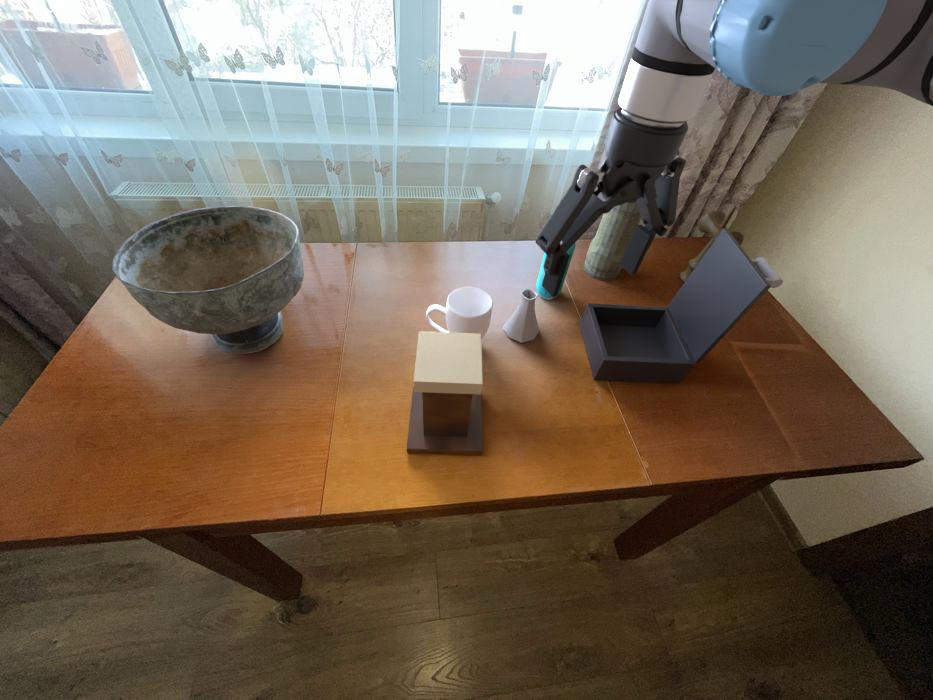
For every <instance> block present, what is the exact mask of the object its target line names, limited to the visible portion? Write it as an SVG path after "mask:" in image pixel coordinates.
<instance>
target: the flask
mask: <svg viewBox="0 0 933 700" xmlns="http://www.w3.org/2000/svg"><path fill="white" fill-rule="evenodd" d="M519 295H520V301H519V303H518V305H517V307H516V308H515V310H514V312H513V313H512V314H511V315H510V317H509V318H508V320H506V322H505V324H503V326H502V329H503V330H504V332H505V334H506V336H507V337H508V338H510V339H512V340H514V341H516V342H518V343H521V344H522V343H526V342H530V341H534V340H535V338H536V337H537V335H538V334H539V332H540V328H539V324H538V320H537V313H536V309H535V308H536V300H537V299H538V297H539V295H538V293H537V290H536V289H532V288H530V287H529V288H524V289H523V290H521V292H520V294H519Z"/></svg>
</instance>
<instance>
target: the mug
mask: <svg viewBox="0 0 933 700" xmlns="http://www.w3.org/2000/svg"><path fill="white" fill-rule="evenodd" d="M493 304H494V303H493V299H492V297H491V296H490V294H489V293H488V292H487V291H486V290H483V289H482V288H479V287H476V286H461V287H458V288H455V289H454V290H452V291H451V292H450V293H449V294H448V295H447V298H446V306H442V305H440V304H437V303H435V304H431V305H430V306H429V307H428V308H427V310H426V312H425V313H426V314H425V319H426V322H427V324H428V326H429V327H431V328H432V329H433V330H434V331H435V332H450V333H472V334H481V340H482V339H484V337H485V336H486V334H487V332H488V330H489V327H490V324H491V320H492V313H493ZM434 311H436V312H439V313H441V314H442V315H444V318H445V324H446V328H447V329H445V328H443V327H442V326H440V325H438V324H437V323H435V322H434V321H433V320H432V319H431V317H430V314H431V313H432V312H434Z"/></svg>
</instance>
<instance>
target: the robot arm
mask: <svg viewBox="0 0 933 700" xmlns="http://www.w3.org/2000/svg"><path fill="white" fill-rule="evenodd" d="M715 71H718V72H720V73H721V74H722V77H723V78H725V79H726V80H730V82H731V83H732V84H733V85H734V86H736V87H739V88H742V89H749V90H751V91H753V92H755V93H759V94H760V95H764V96H770V97H783V96H790V95H793V94H794V93H797V92H799V91H803V90H804V89H806V88H809V87H811V86H815V85H817V84H828V85H829V84H830V85H842V86H845V85H847V86H848V85H852V86H861V87H862V86H863V87H875V88H884V89H888V90H892V91H896V92H899V93H901V94H903V95H905V96H908V97H910V98H912V99H915V100H917V101H919V102H921V103H922V104H923V103H924V104H927V105H929V106H931V107H933V0H648V2H647V4H646V7H645V11H644V15H643V18H642V21H641V25H640V28H639V32H638V34H637V38H636V40H635V44H634V48H633V51H632V54H631V57H630V60H629V63H628V67H627V70H626V73H625V76H624V80H623V83H622V87H621V88H620V92H619V95H618V99H617V103H618V106H619V107H618V108H617V109H616V110H615V111H613V114H612V118H611V119H610V124H609V127H608V129H607V132H606V136H605V139H604V149H605V156H604V160H603V161H602V163H601V165H600V166H599V168H589V167H588V166H587V165H585V164H580V165H579V166H578V167H577V168H576V170H575V173H574V176H573V178H572V181H571V184H570V186H569V187H568V189H567V191H566V192H565V194H564V195H563V197H562V198H561V200H560V202H559V203H558V205H556V207H555V209H554V211H553V212H552V214H551V215H550V216H549V218H548V220H547V222H546V223H545V225H544V226H543V227H542V229H541V230H540V231H539V232H540V233H539V234H538V235H537V237H536V239H535V244H536V245H537V246H538V247H539V248H540V250H542V252H545V253H546V254H547V255H546V258H545V262H544V266H543V267H544V270H545V271H546V272H545V276H544V279H543V283H542V285H543V287H544V288H545V289H546V290H547V291H548V292H549V294H550V295H551V296H552V297H555V296H557V295H558V296H559V294H558V292H559V289H560V286H561V283H562V279H563V276H564V273H565V270H566V267H567V263H568V260H569V257H570V255H569V254H568V253H567V251H568V250H569V249H570V248H571V247H572V245H573V244H574V243H575V244H576V243H577V242H578V240H579V239H580V238H581V237H582V236H583V235H584V234H585V233H586V232H587V231H588V230H589V229H590V228H591V227H592V226H593V224H594V223H596V222H597V221H598V219H599V218H601V216H603V214H604V213H608V212H610V210H611V209H612V208H613V207H614V206H619V205H622V204H624V203H634V202H636V203H637V206H638V209H639V212H640V215H641V221H642V224H638V225H637V226H636V228H635V231H634V233H633V235H632V238H631V240H630V242H629V244H628V247H627V249H626V251H625V254H624V256H623V258H622V261H621V263H620V265H621V266H622V269H624V270H625V271H626V272H627V273H628V274H629V275H631V276H635V275H636V274H637V272H638V271H639V268H640V266H641V264H642V262H643V260H644V258H645V256H646V254H647V252H648V250H649V249H650V248H651V246H652V243H653V241H654V240H655V237H656V235H657V236H659V237H663V236H664V235H665V234H666V233H667V231H668V228H667V227H671V226H673V225H674V224H675V222H676V218H677V217H676V216H677V210H678V209H677V208H678V199H679V190H680V181H681V177H682V173H683V171H684V169H685V166H686V163H687V160H686V159H684V158H683V157H681V156H680V155H679V156H678V155H677V153H678V151H679V152H680V148H681V146H682V144H683V142H684V140H685V137H686V136H687V133H688V130H689V125H688V122H689V121H691V120H693V119H694V118H695V116H696V115H697V112H698V110H699V107H700V106H701V103H702V100H703V99H704V96H705V94H706V92H707V89H708V87H709V85H710V82H711V80H712V78H713V76H714V74H715ZM656 180H657V186H656V190H655V186H654V185H655V181H656ZM600 193H601V196H602V199H604V200H602V199H601V198H599V194H600ZM665 226H667V227H665ZM561 241H562V243H561V244H560V242H561ZM558 296H557V297H558Z"/></svg>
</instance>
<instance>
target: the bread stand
mask: <svg viewBox="0 0 933 700" xmlns="http://www.w3.org/2000/svg"><path fill="white" fill-rule="evenodd" d="M411 393H412V395H411V404H410V414H409V423H408V432H407V439H406V453H407V454H419V455H421V454H422V455H425V454H426V455H458V456H461V455H462V456H483V452H484V451H483V450H484V449H483V416H482V415H483V414H482V413H483V412H482V393H481V394H456V393H430V392H414V386H412V392H411Z"/></svg>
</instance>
